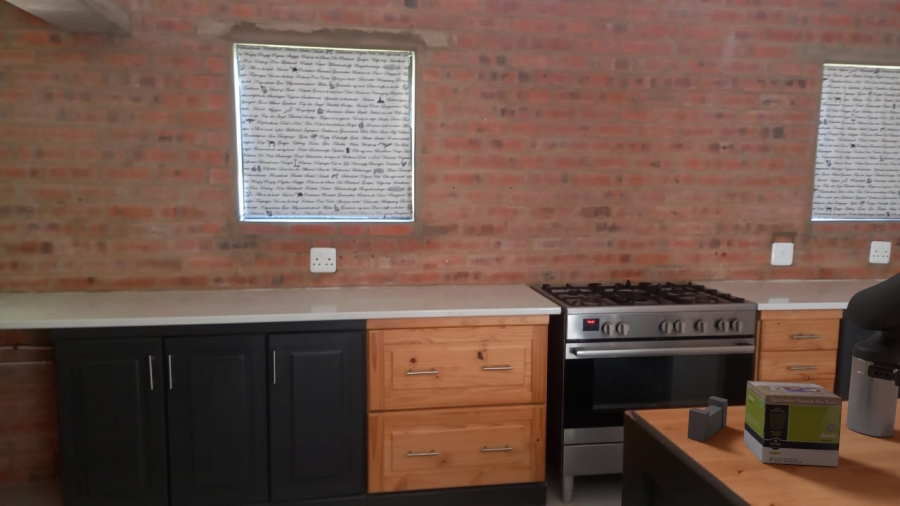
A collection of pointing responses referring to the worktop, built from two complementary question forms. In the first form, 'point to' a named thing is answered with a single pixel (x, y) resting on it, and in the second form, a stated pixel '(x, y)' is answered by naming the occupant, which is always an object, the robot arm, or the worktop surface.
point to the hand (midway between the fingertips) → (871, 367)
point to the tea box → (792, 423)
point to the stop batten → (707, 419)
